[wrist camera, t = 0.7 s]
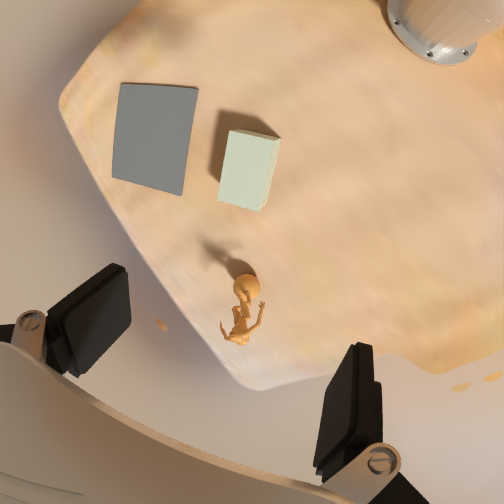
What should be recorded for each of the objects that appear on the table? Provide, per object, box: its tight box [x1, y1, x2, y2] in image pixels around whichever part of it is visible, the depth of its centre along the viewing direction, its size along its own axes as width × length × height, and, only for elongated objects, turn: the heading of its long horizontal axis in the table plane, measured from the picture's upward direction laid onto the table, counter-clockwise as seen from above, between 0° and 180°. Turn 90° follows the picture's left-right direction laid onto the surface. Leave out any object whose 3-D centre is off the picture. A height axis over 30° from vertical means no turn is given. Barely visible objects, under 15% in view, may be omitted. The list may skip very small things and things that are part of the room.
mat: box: [112, 84, 199, 196], centre depth 40 cm, size 16×14×1 cm
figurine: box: [220, 274, 265, 345], centre depth 41 cm, size 8×6×12 cm
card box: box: [217, 129, 282, 212], centre depth 36 cm, size 9×6×4 cm, turn 168°
